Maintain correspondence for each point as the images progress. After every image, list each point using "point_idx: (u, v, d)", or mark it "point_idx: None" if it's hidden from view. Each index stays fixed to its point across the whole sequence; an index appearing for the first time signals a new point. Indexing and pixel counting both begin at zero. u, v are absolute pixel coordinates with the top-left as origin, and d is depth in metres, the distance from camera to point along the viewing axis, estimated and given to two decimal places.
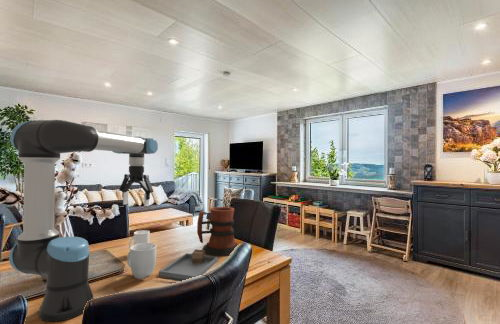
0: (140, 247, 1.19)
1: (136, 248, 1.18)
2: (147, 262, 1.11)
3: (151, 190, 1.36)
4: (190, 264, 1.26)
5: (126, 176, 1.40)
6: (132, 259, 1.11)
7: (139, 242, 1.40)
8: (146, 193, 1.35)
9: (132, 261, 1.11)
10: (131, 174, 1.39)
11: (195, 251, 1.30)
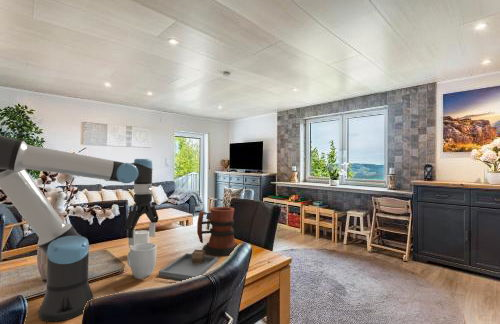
0: (140, 247, 1.19)
1: (136, 248, 1.18)
2: (147, 262, 1.11)
3: (126, 227, 1.07)
4: (190, 264, 1.26)
5: None
6: (132, 259, 1.11)
7: (139, 242, 1.40)
8: None
9: (132, 261, 1.11)
10: None
11: (195, 251, 1.30)
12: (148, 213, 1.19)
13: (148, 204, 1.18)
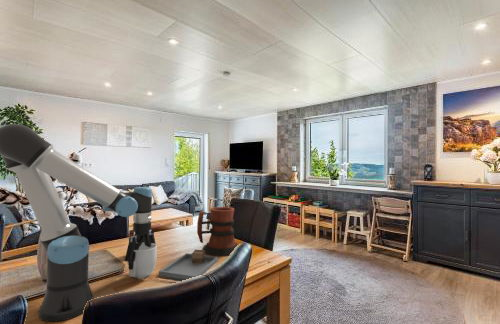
0: (140, 247, 1.19)
1: None
2: (147, 262, 1.11)
3: (127, 259, 1.07)
4: (190, 264, 1.26)
5: None
6: None
7: None
8: None
9: None
10: None
11: (195, 251, 1.30)
12: (146, 242, 1.19)
13: (147, 232, 1.18)
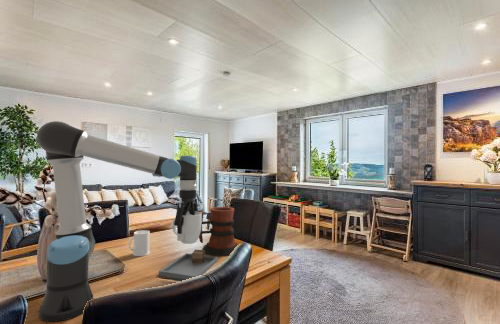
0: None
1: None
2: (194, 227, 1.15)
3: (176, 223, 1.11)
4: (190, 264, 1.26)
5: None
6: None
7: (139, 242, 1.40)
8: (175, 225, 1.13)
9: None
10: None
11: (195, 251, 1.30)
12: (191, 209, 1.22)
13: (192, 200, 1.21)
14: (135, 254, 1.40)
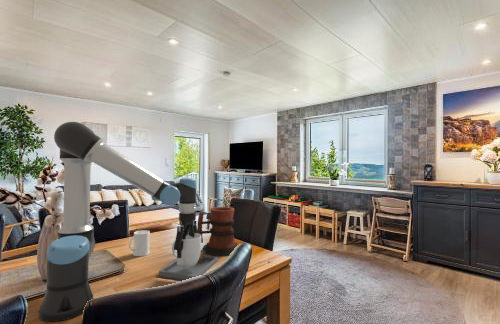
0: None
1: None
2: (194, 251, 1.14)
3: (176, 247, 1.10)
4: None
5: None
6: None
7: (139, 242, 1.40)
8: None
9: None
10: None
11: None
12: (191, 232, 1.22)
13: (192, 222, 1.21)
14: (135, 254, 1.40)
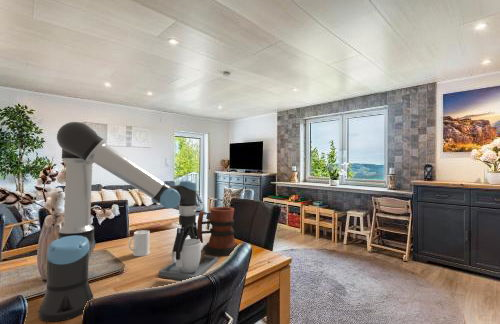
0: (184, 243, 1.22)
1: None
2: (194, 257, 1.14)
3: (175, 249, 1.10)
4: None
5: None
6: None
7: (139, 242, 1.40)
8: None
9: None
10: None
11: None
12: (191, 233, 1.22)
13: (192, 225, 1.21)
14: (135, 254, 1.40)
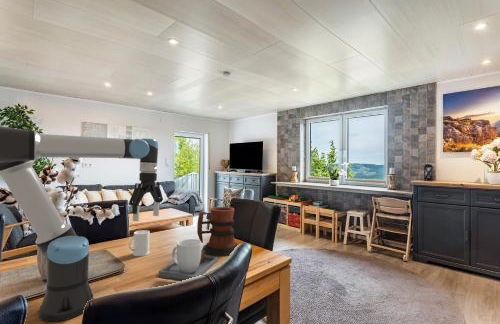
0: (184, 243, 1.22)
1: (181, 244, 1.21)
2: (194, 258, 1.14)
3: (131, 202, 1.10)
4: None
5: None
6: (180, 254, 1.14)
7: (139, 242, 1.40)
8: (130, 205, 1.12)
9: (180, 256, 1.14)
10: None
11: None
12: (153, 192, 1.23)
13: (153, 183, 1.22)
14: (135, 254, 1.40)
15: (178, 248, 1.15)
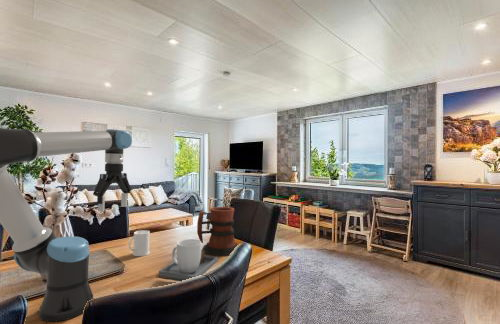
0: (184, 243, 1.22)
1: (181, 244, 1.21)
2: (194, 258, 1.14)
3: (95, 193, 1.11)
4: None
5: None
6: (180, 254, 1.14)
7: (139, 242, 1.40)
8: None
9: (180, 256, 1.14)
10: None
11: None
12: (119, 183, 1.24)
13: (119, 174, 1.23)
14: (135, 254, 1.40)
15: (178, 248, 1.15)
